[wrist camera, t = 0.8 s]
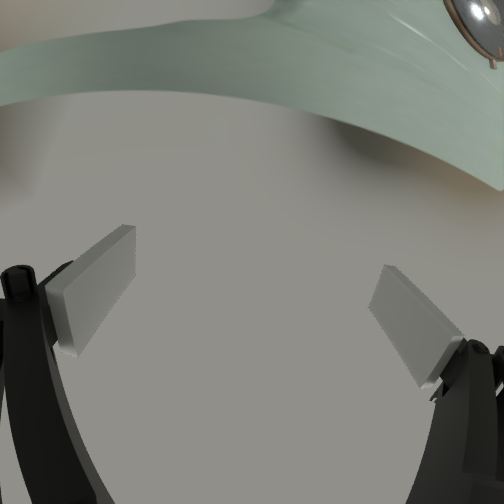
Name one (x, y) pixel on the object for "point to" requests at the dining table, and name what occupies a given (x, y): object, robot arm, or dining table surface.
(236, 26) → the dining table surface
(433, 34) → the dining table surface
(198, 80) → the dining table surface
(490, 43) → the turntable
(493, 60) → the turntable base
